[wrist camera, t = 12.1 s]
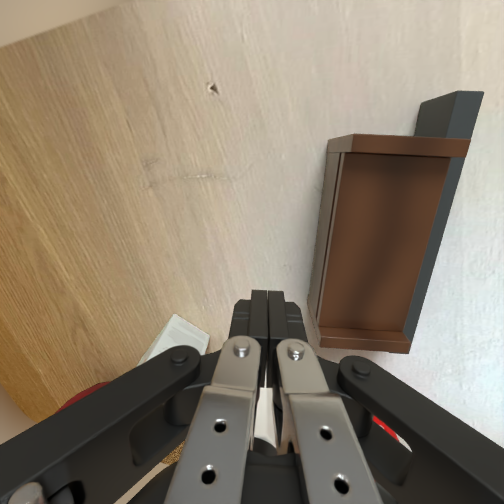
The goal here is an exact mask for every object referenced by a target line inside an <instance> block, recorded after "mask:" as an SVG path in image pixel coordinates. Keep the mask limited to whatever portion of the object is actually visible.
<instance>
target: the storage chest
mask: <svg viewBox="0 0 504 504" xmlns="http://www.w3.org/2000/svg"><path fill="white" fill-rule="evenodd" d="M470 142H471V139H457V138H436V137H415V136H395V135H374V134H351V135H346V136H342V137H338V138H334V139H330V140H328V147H327V153H328V155H327V163H326V170H325V178H324V185H323V193H322V200H321V208H320V215H319V223H318V230H317V238H316V245H315V253H314V261H313V268H312V276H311V283H310V291H309V294H308V299H307V304H308V308H309V311H310V314H311V318H312V321H313V325H314V328H315V332H316V335H317V339H318V342H319V346H320V347H325V348H340V349H355V350H370V351H384V352H399V353H408V351H409V347H410V344H411V342H410V341H409V340H408V338H407V337H406V336H405V334H404V333H403V330H404V327H405V323H406V320H407V316H408V312H409V309H410V305H411V302H412V298H413V294H414V291H415V287H416V284H417V280H418V276H419V273H420V269H421V266H422V262H423V259H424V255H425V251H426V248H427V244H428V241H429V237H430V233H431V230H432V226H433V223H434V219H435V216H436V212H437V208H438V205H439V201H440V198H441V194H442V190H443V187H444V183H445V180H446V176H447V172H448V169H449V165H450V162H451V158H450V157H453V158H465V157H466V155H467V152H468V149H469V145H470Z"/></svg>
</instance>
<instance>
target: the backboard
mask: <svg viewBox="0 0 504 504" xmlns="http://www.w3.org/2000/svg"><path fill="white" fill-rule="evenodd" d="M483 95H484V92H483V91H455V92H452V93H449V94H446V95H443V96H440V97H437V98H434V99H431V100H428V101H425V102H422V103H421V107H420V112H419V116H418V121H417V125H416V130H415V134H414V136H415V137H436V138H457V139H471V137H472V133H473V130H474V126H475V123H476V119H477V116H478V112H479V109H480V105H481V102H482V98H483ZM450 158H451V162H450V165H449V169H448V172H447V176H446V180H445V183H444V187H443V190H442V194H441V198H440V201H439V205H438V208H437V212H436V216H435V219H434V223H433V226H432V230H431V233H430V237H429V241H428V244H427V248H426V251H425V255H424V259H423V262H422V266H421V269H420V273H419V276H418V280H417V284H416V287H415V291H414V294H413V298H412V302H411V305H410V309H409V312H408V316H407V320H406V323H405V327H404V330H403V333H404V334H405V336H406V337H407V338H408V340H409V341H410V342H411V344H412V341H413V337H414V334H415V330H416V327H417V323H418V320H419V316H420V313H421V310H422V306H423V303H424V299H425V296H426V292H427V289H428V285H429V282H430V278H431V275H432V271H433V268H434V265H435V261H436V258H437V254H438V251H439V247H440V244H441V240H442V237H443V233H444V230H445V226H446V223H447V220H448V216H449V213H450V209H451V206H452V202H453V199H454V195H455V192H456V188H457V185H458V182H459V178H460V175H461V171H462V168H463V164H464V161H465V158H453V157H450ZM411 344H410V347H409V351H410V348H411ZM409 351H408V353H399V352H389V353H399V354H409Z"/></svg>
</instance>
